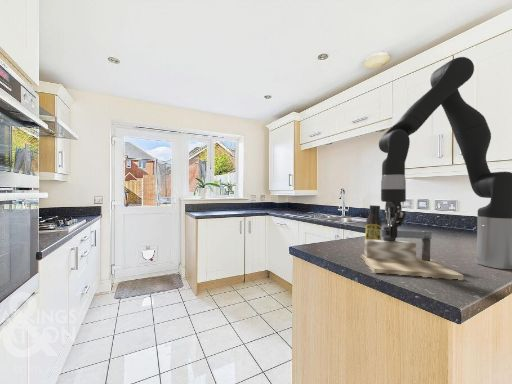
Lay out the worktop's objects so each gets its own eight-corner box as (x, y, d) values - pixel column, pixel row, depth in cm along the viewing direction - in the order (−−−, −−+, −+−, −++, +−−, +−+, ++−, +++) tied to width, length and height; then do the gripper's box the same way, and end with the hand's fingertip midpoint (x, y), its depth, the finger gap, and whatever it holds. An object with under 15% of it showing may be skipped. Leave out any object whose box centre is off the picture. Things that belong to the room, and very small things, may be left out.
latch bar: (428, 237, 86) (428, 231, 86) (433, 239, 83) (433, 232, 83) (379, 235, 88) (379, 229, 88) (382, 237, 85) (382, 230, 85)
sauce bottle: (364, 251, 102) (364, 205, 102) (365, 248, 108) (365, 204, 108) (381, 253, 99) (382, 205, 99) (381, 250, 105) (382, 205, 105)
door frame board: (430, 262, 87) (431, 228, 87) (463, 280, 69) (464, 237, 69) (360, 257, 91) (361, 225, 91) (374, 273, 74) (374, 233, 74)
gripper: (414, 187, 76) (414, 241, 76) (395, 188, 90) (395, 234, 89) (390, 187, 77) (390, 240, 77) (374, 188, 90) (374, 234, 90)
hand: (392, 237), depth 83 cm, fingers closed
